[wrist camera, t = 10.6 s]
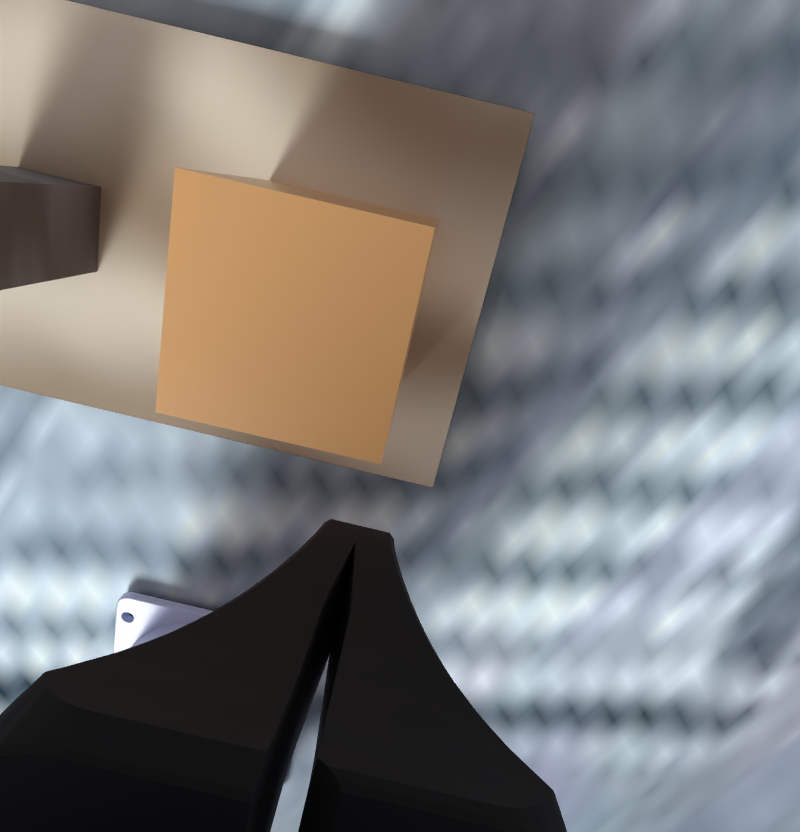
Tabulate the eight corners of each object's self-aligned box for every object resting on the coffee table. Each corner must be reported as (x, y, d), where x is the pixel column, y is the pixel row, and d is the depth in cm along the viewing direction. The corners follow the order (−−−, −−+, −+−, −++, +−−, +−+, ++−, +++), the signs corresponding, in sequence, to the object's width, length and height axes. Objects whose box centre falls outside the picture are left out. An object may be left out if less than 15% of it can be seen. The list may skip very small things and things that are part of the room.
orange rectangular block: (401, 382, 20) (380, 464, 13) (246, 346, 20) (155, 411, 13) (438, 219, 18) (434, 227, 12) (269, 180, 18) (174, 167, 12)
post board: (433, 477, 22) (428, 570, 16) (-55, 361, 21) (-225, 415, 16) (531, 117, 18) (569, 78, 12) (-71, -29, 17) (-307, -135, 12)
